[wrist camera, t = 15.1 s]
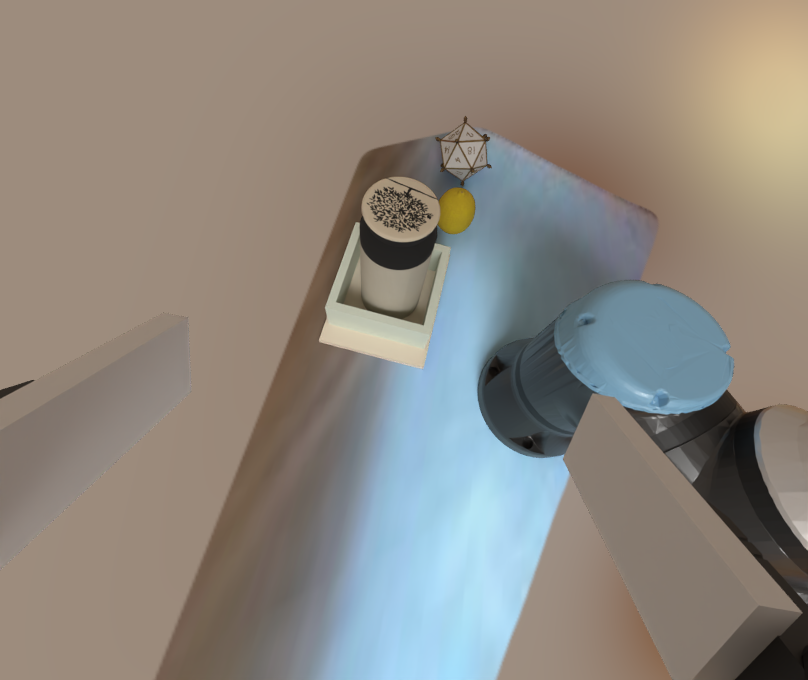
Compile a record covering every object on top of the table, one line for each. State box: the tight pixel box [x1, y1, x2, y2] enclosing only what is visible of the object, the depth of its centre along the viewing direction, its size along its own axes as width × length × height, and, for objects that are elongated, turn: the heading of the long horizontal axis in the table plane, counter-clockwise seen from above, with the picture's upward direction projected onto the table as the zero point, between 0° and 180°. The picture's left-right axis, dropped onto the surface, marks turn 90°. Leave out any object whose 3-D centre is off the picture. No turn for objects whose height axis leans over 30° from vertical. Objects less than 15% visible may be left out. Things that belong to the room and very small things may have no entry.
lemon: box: [438, 188, 475, 234], centre depth 55 cm, size 6×6×8 cm
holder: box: [319, 222, 451, 369], centre depth 51 cm, size 18×14×6 cm
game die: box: [436, 116, 492, 187], centre depth 59 cm, size 9×8×10 cm
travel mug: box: [360, 177, 440, 319], centre depth 44 cm, size 8×8×18 cm
